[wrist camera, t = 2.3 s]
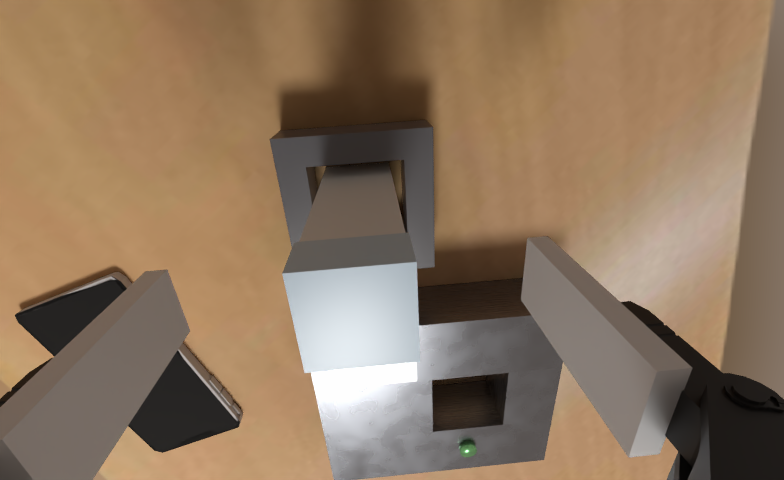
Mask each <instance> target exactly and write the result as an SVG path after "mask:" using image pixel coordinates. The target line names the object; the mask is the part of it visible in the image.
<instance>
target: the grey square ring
mask: <svg viewBox="0 0 784 480" xmlns="http://www.w3.org/2000/svg"><path fill="white" fill-rule="evenodd" d="M270 143H271V148H272V153H273V158H274V163H275V167H276V172H277V177H278V182H279V187H280V192H281V197H282V202H283V207H284V211H285V216H286V221H287V226H288V231H289V236H290V241H291V246H292V247H293V245H294V242H299V241H300V238H301V235H302V232H303V230H304V227H305V224H306V221H307V219H308V216H309V213H310V210H311V208H312V205H313V202H314V199H315V197H316V194H317V191H318V190H317V183H316V177H315V171H314V167H315V166H328V165H341V164H354V163H367V162H380V161H393V160H401V179H402V198H403V218H404V229H405V233H409V234H410V238H411V242H412V246H413V250H414V254H415V257H416V261H417V269H419V268H430V267H435V257H434V166H433V127H432V126H431V125H430V124H429V123H428V122H427V121H426V120H417V121H404V122H390V123H376V124H363V125H349V126H336V127H322V128H309V129H295V130H281V131H279V132H278V133H277V134H276V135H274V136H273V137H272V138H271V139H270Z"/></svg>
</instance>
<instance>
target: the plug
mask: <svg viewBox="0 0 784 480" xmlns="http://www.w3.org/2000/svg"><path fill="white" fill-rule="evenodd" d="M282 274H283V279H284V283H285V288H286V292H287V297H288V301H289V306H290V310H291V314H292V319H293V323H294V328H295V332H296V337H297V341H298V345H299V350H300V354H301V359H302V363H303V368H304V372H305V373H311V372H321V371H332V370H342V369H353V368H363V367H373V366H384V365H394V364H405V363H415V362H420V341H419V313H418V285H417V261H416V257H415V254H414V250H413V246H412V242H411V238H410V234H409V233H405V229H404V224H403V220H402V216H401V212H400V208H399V204H398V199H397V195H396V191H395V187H394V183H393V179H392V174H391V170H390V166H389V162H383V163H370V164H357V165H344V166H331V167H326V169H325V172H324V175H323V177H322V180H321V183H320V186H319V188H318V191H317V194H316V197H315V199H314V202H313V205H312V208H311V210H310V213H309V216H308V219H307V221H306V224H305V227H304V230H303V232H302V235H301V238H300V241H299V242H294V245H293V247H292V250H291V252H290V255H289V258H288V260H287V263H286V265H285V268H284V271H283V273H282Z"/></svg>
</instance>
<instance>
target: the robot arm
mask: <svg viewBox="0 0 784 480" xmlns="http://www.w3.org/2000/svg"><path fill="white" fill-rule="evenodd" d="M521 301H522V302H523V304H524V305H525V306H526V308H527V309H528V311H529V312H530V314H531V315H532V317H533V318H534V320H535V321H536V323H537V324H538V326H539V327H540V328H541V330H542V331H543V333H544V334H545V336H546V337H547V339H548V340H549V342H550V343H551V345H552V346H553V348H554V349H555V350H556V352H557V353H558V355H559V356H560V358H561V359H562V361H563V362H564V364H565V365H566V367H567V368H568V369H569V371H570V372H571V374H572V375H573V377H574V378H575V380H576V381H577V383H578V384H579V386H580V387H581V389H582V390H583V391H584V393H585V394H586V396H587V397H588V399H589V400H590V402H591V403H592V405H593V406H594V408H595V409H596V411H597V412H598V413H599V415H600V416H601V418H602V419H603V421H604V422H605V424H606V425H607V427H608V428H609V430H610V431H611V432H612V434H613V435H614V437H615V438H616V440H617V441H618V443H619V444H620V446H621V447H622V449H623V450H624V452H625V453H626V454H627V456H628V457H637V456H646V455H655V454H660V451H661V449H662V446H663V443H664V441H665V438H666V437H667V438H668V439H669V441H670V442H671V443H672V444H673V445H674V447H675V448H676V449H677V450H678V454H677V456H676V459H675V461H674V463H673V466H672V468H671V471H670V473H669V475H668V478H667V480H784V399H783V398H781V397H780V396H779V395H778V394H777V393H776V392H775V391H773V390H771V389H770V388H768V387H766V386H765V385H763V384H761V383H759V382H757V381H754V380H752V379H749V378H746V377H744V376H739V375H735V374H730V373H722V372H721V371H720V370H718V369H717V368H716V367H715V366H714V365H713V364H711V363H710V362H709V361H708V360H707V359H705V358H704V357H703V356H702V355H701V354H700V353H698V352H697V351H696V350H695V349H694V348H692V347H691V346H690V345H689V344H688V343H687V342H685V341H684V340H683V339H682V338H681V337H679V336H676V335H675V332H674V331H672V330H671V329H670V328H669V327H668V326H667V325H665V326H664V324H663V322H662V321H661V320H659V319H658V318H657V317H656V316H655V315H654V314H652V313H651V312H650V311H649V310H647V309H645V308H643V307H641V306H639V305H637V304H635V303H633V302H631V301H627V302H620V301H618V300H617V299H616V298H615V297H614V296H613V295H612V294H611V293H610V292H609V291H607V290H606V289H605V288H604V287H603V286H602V285H601V284H600V283H599V282H598V281H596V280H595V279H594V278H593V277H592V276H591V275H590V274H589V273H588V272H587V271H585V270H584V269H583V268H582V267H581V266H580V265H579V264H578V263H577V262H576V261H574V260H573V259H572V258H571V257H570V256H569V255H568V254H567V253H566V252H565V251H563V250H562V249H561V248H560V247H559V246H558V245H557V244H556V243H555V242H554V241H552V240H551V239H550V238H549V237H548V236H543V237H532V238H527V247H526V256H525V265H524V275H523V284H522V293H521ZM189 332H190V329H189V326H188V324H187V321H186V318H185V316H184V313H183V310H182V308H181V305H180V302H179V300H178V297H177V294H176V292H175V289H174V286H173V284H172V281H171V278H170V276H169V273H168V270H157V271H146V272H144V273H143V274H142V275H141V276H140V277H139V278H138V279H137V280H136V281H135V282H134V283H133V284H131V285H130V286H129V287H128V288H127V289H126V290H125V291H124V292H123V293H122V294H121V295H120V296H119V297H118V298H117V299H115V300H114V301H113V302H112V303H111V304H110V305H109V306H108V307H107V308H106V309H105V310H104V311H103V312H102V313H100V314H99V315H98V316H97V317H96V318H95V319H94V320H93V321H92V322H91V323H90V324H89V325H88V326H87V327H86V328H84V329H83V330H82V331H81V332H80V333H79V334H78V335H77V336H76V337H75V338H74V339H73V340H72V341H71V342H70V343H68V344H67V345H66V346H65V347H64V348H63V349H62V350H61V351H60V352H59V353H58V354H57V355H56V356H55V357H53V358H51V359H49V360H48V361H46V362H45V363H43V364H42V365H40V366H38V367H37V368H35V369H34V370H32V371H31V372H29V373H28V374H27V375H26V376H25V377H24V378H23V379H21V380H20V381H19V382H18V383H17V384H16V385H15V386H14V387H13V388H12V391H11V392H7V393H6V394H5V395H4V396H3V397H2V398H1V399H0V480H93V478H94V477H95V475H96V473H97V472H98V471H99V469H100V468H101V466H102V465H103V463H104V461H105V460H106V458H107V457H108V455H109V454H110V452H111V451H112V449H113V448H114V446H115V445H116V443H117V442H118V440H119V439H120V437H121V436H122V434H123V433H124V431H125V429H126V428H127V426H128V425H129V423H130V422H131V420H132V419H133V417H134V416H135V414H136V413H137V411H138V410H139V408H140V407H141V405H142V404H143V402H144V401H145V399H146V397H147V396H148V394H149V393H150V391H151V390H152V388H153V387H154V385H155V384H156V382H157V381H158V379H159V378H160V376H161V375H162V373H163V372H164V370H165V369H166V367H167V365H168V364H169V362H170V361H171V359H172V358H173V356H174V355H175V353H176V352H177V350H178V349H179V347H180V346H181V344H182V343H183V341H184V340H185V338H186V337H187V335H188V333H189Z"/></svg>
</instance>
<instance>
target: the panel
mask: <svg viewBox="0 0 784 480" xmlns="http://www.w3.org/2000/svg"><path fill="white" fill-rule="evenodd" d="M522 284H523V278H519V279H507V280H496V281H485V282H473V283H462V284H451V285H440V286H428V287H418V313H419V341H420V362H415V363H405V364H394V365H384V366H373V367H363V368H353V369H342V370H332V371H321V372H311V376H312V380H313V385H314V390H315V394H316V399H317V404H318V408H319V413H320V417H321V422H322V427H323V431H324V436H325V441H326V445H327V450H328V455H329V459H330V464H331V469H332V473H333V478H334V480H357V479H367V478H376V477H386V476H395V475H405V474H414V473H423V472H433V471H442V470H452V469H461V468H471V467H480V466H490V465H499V464H509V463H518V462H528V461H537V460H544V457H545V451H546V446H547V441H548V436H549V431H550V426H551V420H552V415H553V410H554V405H555V400H556V394H557V389H558V384H559V379H560V374H561V369H562V363H563V361H562V359H561V358H560V356H559V355H558V353H557V352H556V350H555V349H554V348H553V346H552V345H551V343H550V342H549V340H548V339H547V337H546V336H545V334H544V333H543V331H542V330H541V328H540V327H539V326H538V324H537V323H536V321H535V320H534V318H533V317H532V315H531V314H530V312H529V311H528V309H527V308H526V306H525V305H524V304H523V302H522V301H521V293H522ZM481 375H487V377H486V381H477V382H467V383H456V384H446V385H436V386H432V380H440V379H450V378H460V377H470V376H481Z"/></svg>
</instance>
